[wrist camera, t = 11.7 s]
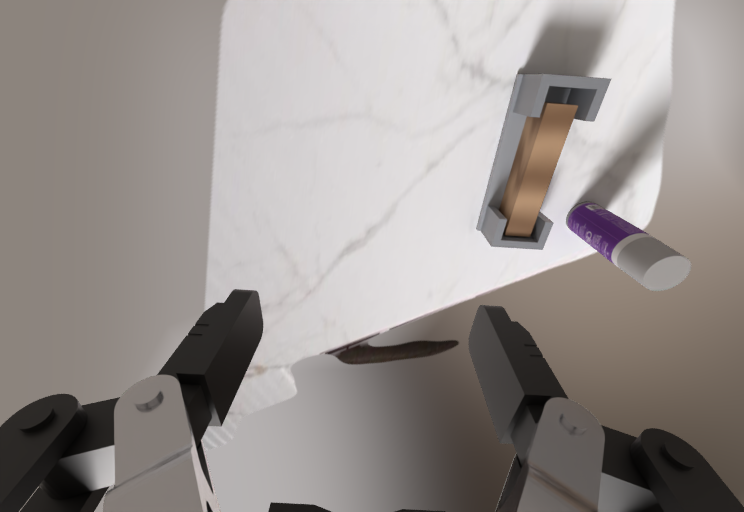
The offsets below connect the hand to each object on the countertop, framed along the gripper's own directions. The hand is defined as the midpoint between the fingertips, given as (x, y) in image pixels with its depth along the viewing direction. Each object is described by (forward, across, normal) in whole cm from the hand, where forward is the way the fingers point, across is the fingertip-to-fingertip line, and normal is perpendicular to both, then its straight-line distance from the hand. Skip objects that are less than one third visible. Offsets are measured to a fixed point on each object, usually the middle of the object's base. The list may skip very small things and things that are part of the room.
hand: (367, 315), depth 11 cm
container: (+33, -31, +8) cm, 46 cm away
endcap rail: (+33, -20, +1) cm, 39 cm away
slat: (+32, -20, +2) cm, 38 cm away
